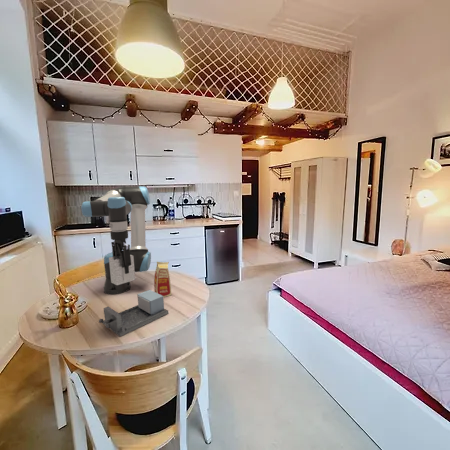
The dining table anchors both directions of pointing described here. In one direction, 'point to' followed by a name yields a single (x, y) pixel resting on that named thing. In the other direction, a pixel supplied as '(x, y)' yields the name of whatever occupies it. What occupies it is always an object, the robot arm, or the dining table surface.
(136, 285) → the dining table surface
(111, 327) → the vise body
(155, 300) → the block
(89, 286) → the dining table surface
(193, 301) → the dining table surface
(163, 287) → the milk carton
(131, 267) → the steel block
